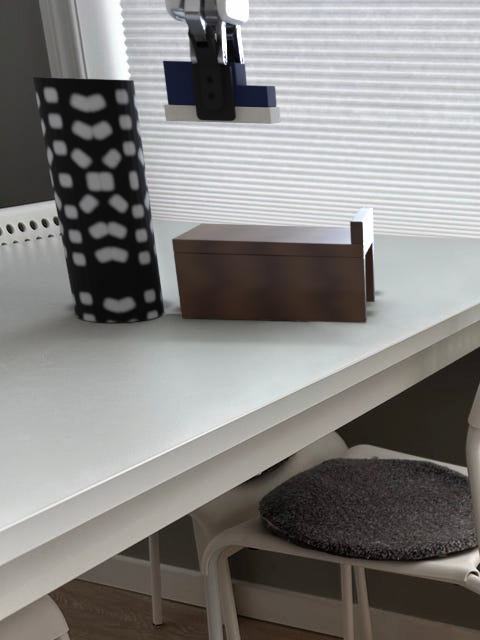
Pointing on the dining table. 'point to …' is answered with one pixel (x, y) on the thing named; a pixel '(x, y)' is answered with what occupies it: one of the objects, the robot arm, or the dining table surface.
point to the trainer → (249, 99)
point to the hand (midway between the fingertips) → (223, 116)
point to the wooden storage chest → (277, 271)
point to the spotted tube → (101, 197)
